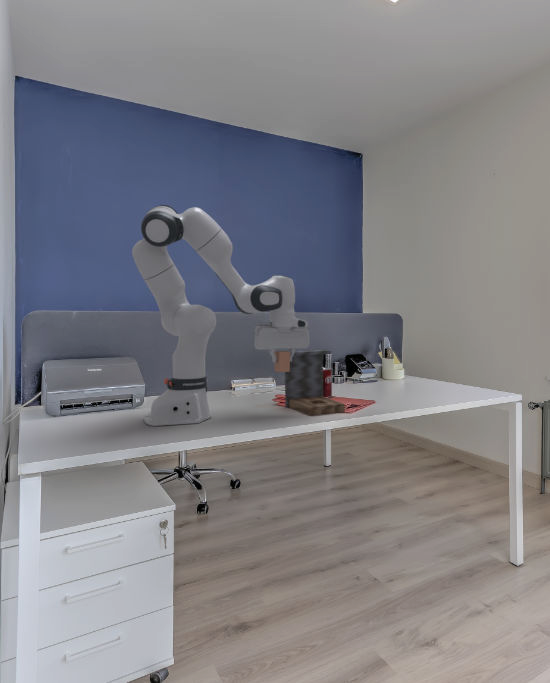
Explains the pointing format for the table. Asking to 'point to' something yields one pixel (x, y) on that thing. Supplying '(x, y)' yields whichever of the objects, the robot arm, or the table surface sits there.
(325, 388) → the soda can
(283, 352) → the peg
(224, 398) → the table surface
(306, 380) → the socket block
